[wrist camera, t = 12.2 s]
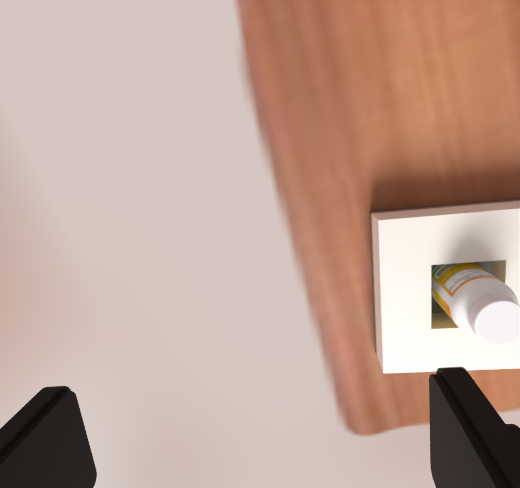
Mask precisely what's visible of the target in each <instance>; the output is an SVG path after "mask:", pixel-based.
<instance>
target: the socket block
mask: <svg viewBox="0 0 520 488" xmlns="http://www.w3.org/2000/svg"><path fill="white" fill-rule="evenodd" d="M370 230H371V256H372V282H373V308H374V334H375V352H376V354H377V357H378V360H379V363H380V365H381V368H382V371H383V373H407V372H434V371H437V369H438V368H447V367H464V368H465V369H466V370H488V369H514V368H520V337H519V338H518V339H517V340H515V341H514V342H512V343H509V344H506V345H501V346H496V345H490V344H487V343H485V342H484V341H482V340H481V339H480V338H479V337H476V336H472V335H470V334H467V333H465V332H464V331H462V330H461V329H460V328H459V327H458V326H457V325H456V324H455V323H454V322H453V320H452V319H451V318H450V317H449V316H448V314H447V313H446V312H445V311H444V310H443V309H442V307H441V306H440V305H439V304H438V303H437V302H436V300H435V299H434V298H433V297H432V295H431V272H432V271H433V269H434V268H435V267H436V266H437V265H440V264H454V263H469V262H474V263H476V264H477V265H479V266H480V267H482V268H483V269H484V270H486V271H487V272H489V273H490V274H492V275H493V276H495V277H496V278H498V279H499V280H501V281H502V282H503V283H505V284H506V285H507V286H509V287H510V288H511V289H512V290H513V292H514V293H515V295H516V297H517V300H518V304H519V305H520V199H513V200H501V201H490V202H478V203H467V204H455V205H444V206H432V207H421V208H409V209H398V210H386V211H375V212H370Z"/></svg>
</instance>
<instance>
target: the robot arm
mask: <svg viewBox="0 0 520 488" xmlns="http://www.w3.org/2000/svg"><path fill="white" fill-rule="evenodd" d="M429 396H430V454H431V455H430V459H431V471H432V476H433V480H434V483H435V486H436V488H520V428H519V427H518V426H516V425H514V424H505V423H504V421H503V420H502V419H501V417H500V416H499V415H498V413H497V412H496V410H495V409H494V408H493V406H492V405H491V404H490V402H489V401H488V399H487V398H486V397H485V395H484V394H483V393H482V391H481V390H480V388H479V387H478V386H477V384H476V383H475V382H474V380H473V379H472V377H471V376H470V375H469V373H468V372H467V371H466V369H465V368H464V367H447V368H438V369H437V374H431V375H430V377H429ZM96 476H97V472H96V468H95V464H94V460H93V456H92V453H91V449H90V445H89V442H88V438H87V435H86V430H85V427H84V423H83V419H82V416H81V412H80V408H79V405H78V401H77V397H76V394H75V393H74V392H72V391H71V390H70V389H69V388H68V387H66V386H58V387H57V386H56V387H45V388H43V389H42V390H40V391H39V392H38V393H37V394H36V395H35V396H34V397H33V398H32V399H31V400H30V401H29V402H28V403H27V404H26V405H25V406H24V407H23V408H22V409H21V410H20V411H19V412H17V414H15V415H14V416H13V417H12V418H11V419H10V420H9V421H8V422H7V423H6V424H5V425H4V426H3V427H2V428H1V429H0V488H93V487H94V485H95V481H96Z"/></svg>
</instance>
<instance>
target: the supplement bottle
mask: <svg viewBox="0 0 520 488" xmlns="http://www.w3.org/2000/svg"><path fill="white" fill-rule="evenodd" d="M431 295H432V297H433V298H434V299H435V300H436V302H437V303H438V304H439V305H440V306H441V307H442V309H443V310H444V311H445V312H446V313H447V314H448V316H449V317H450V318H451V319H452V320H453V322H454V323H455V324H456V325H457V326H458V327H459V328H460V329H461V330H462V331H464V332H465V333H467V334H470V335H472V336H476V337H479V338H480V339H481V340H482V341H484V342H485V343H487V344H490V345H496V346H501V345H506V344H509V343H512V342H514V341H515V340H517V339H518V338H519V337H520V305H519V304H518V300H517V297H516V295H515V293H514V292H513V290H512V289H511V288H510V287H509V286H507V285H506V284H505V283H503V282H502V281H501V280H499V279H498V278H496V277H495V276H493V275H492V274H490V273H489V272H487V271H486V270H484V269H483V268H482V267H480V266H479V265H477V264H476V263H474V262H469V263H454V264H440V265H437V266H436V267H435V268H434V269H433V271H432V272H431Z"/></svg>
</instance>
